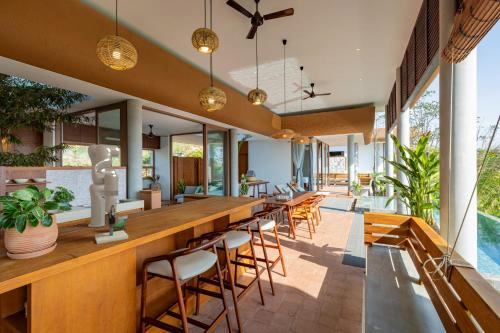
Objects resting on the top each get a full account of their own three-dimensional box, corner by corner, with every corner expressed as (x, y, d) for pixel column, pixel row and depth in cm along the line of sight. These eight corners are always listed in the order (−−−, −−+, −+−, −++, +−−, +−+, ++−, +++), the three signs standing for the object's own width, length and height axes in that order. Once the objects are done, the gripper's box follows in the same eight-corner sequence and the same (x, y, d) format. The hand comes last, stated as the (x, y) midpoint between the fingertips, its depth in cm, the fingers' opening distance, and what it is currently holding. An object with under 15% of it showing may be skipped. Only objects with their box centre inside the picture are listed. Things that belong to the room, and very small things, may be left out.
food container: (104, 232, 153) (104, 217, 153) (108, 230, 159) (108, 215, 159) (124, 231, 155) (124, 216, 155) (127, 229, 161) (127, 215, 161)
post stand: (94, 237, 143) (94, 221, 143) (123, 232, 153) (123, 218, 153) (97, 243, 131) (97, 227, 131) (128, 238, 141) (128, 222, 141)
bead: (104, 223, 143) (104, 214, 143) (116, 222, 147) (116, 212, 147) (105, 225, 138) (105, 215, 138) (118, 224, 142) (118, 214, 142)
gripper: (102, 192, 147) (102, 221, 146) (106, 195, 133) (106, 226, 133) (115, 192, 151) (116, 219, 151) (120, 194, 138) (120, 224, 138)
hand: (111, 222), depth 142 cm, fingers closed on bead, 6 cm apart
